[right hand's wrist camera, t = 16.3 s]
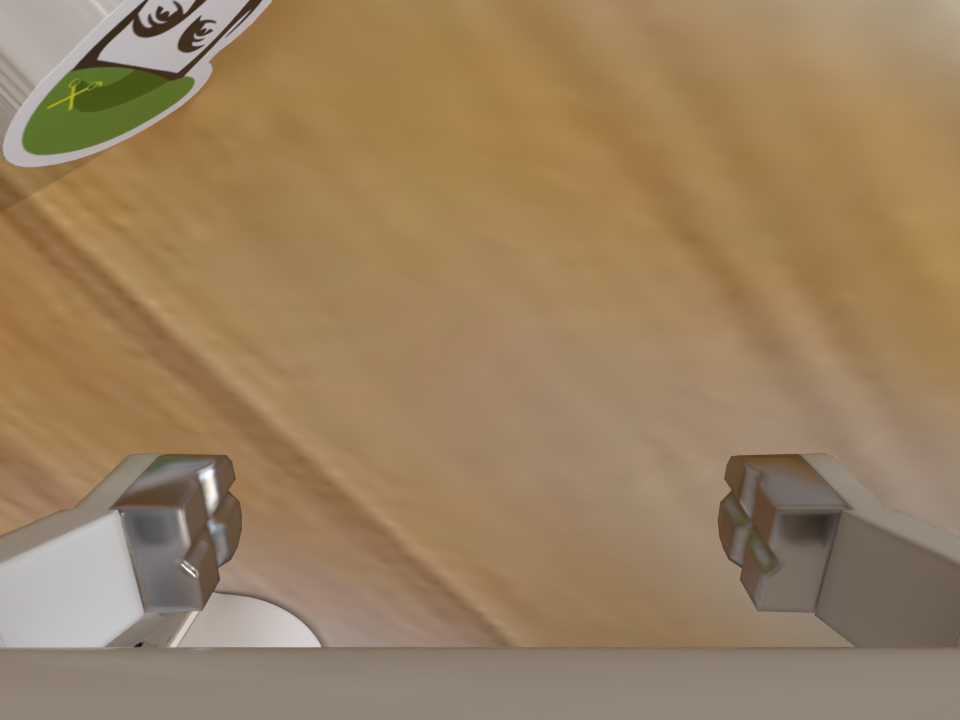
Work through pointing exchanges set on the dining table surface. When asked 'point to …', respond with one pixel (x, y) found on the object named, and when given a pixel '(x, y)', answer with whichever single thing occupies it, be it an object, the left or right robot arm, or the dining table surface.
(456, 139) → the dining table surface
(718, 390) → the dining table surface
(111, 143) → the cutout
